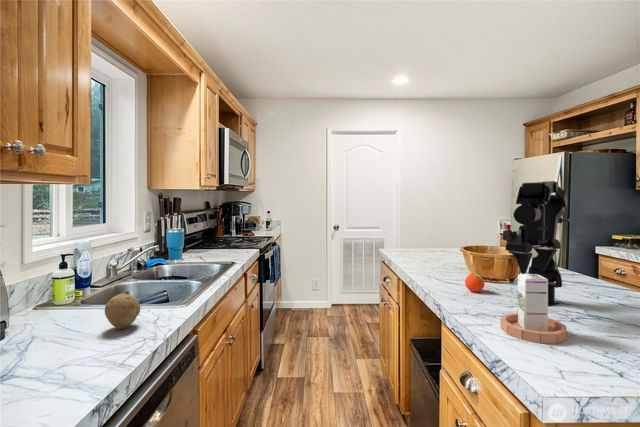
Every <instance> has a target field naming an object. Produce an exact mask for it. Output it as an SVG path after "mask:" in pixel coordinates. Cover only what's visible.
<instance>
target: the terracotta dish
mask: <svg viewBox="0 0 640 427" xmlns="http://www.w3.org/2000/svg"><path fill="white" fill-rule="evenodd" d="M500 329H501V331H503V332H504V333H505V334H506V335H509V336H511V337H513V338H517V339H519V340H522V341H526V342H532V343H537V344H551V345H552V344H561V343H564V342H566V341H567V334H568V331H567V330H568V329H567V325H565V324H564V323H562V322H561V321H558V320H556V319H553V318H550V317H548V332H538V331H533V330H527V329H523V328H522V327H521V326H520V325H519V324H518V312H511V313H507V314H503V315H501V318H500ZM563 341H564V342H563ZM560 342H561V343H560Z"/></svg>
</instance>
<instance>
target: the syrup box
mask: <svg viewBox="0 0 640 427" xmlns="http://www.w3.org/2000/svg"><path fill="white" fill-rule="evenodd" d="M517 313H518V324H519V325H520V326H521V327H522V328H523V329H527V330H533V331H538V332H548V318H549V306H548V279H546V278H544V277H542V276H540V275H537V274H528V273H526V274H521V273H520V274H519V273H518V274H517Z"/></svg>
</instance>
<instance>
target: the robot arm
mask: <svg viewBox="0 0 640 427" xmlns="http://www.w3.org/2000/svg"><path fill="white" fill-rule="evenodd" d="M515 204H516V205H519V206H517V207H516V208H515V210H514V211H513V218H514V221H516V222H517V223H518V224H520V225H519V227H518V230H516V231H512V230H511V229H505V230H503V232H502V240H503V241H506V243H505V251H507V252H508V253H509V254H511V255H513V257H514V258H515V259H516V262H517V264H518V268H519V270H520V274H537V275H540V276H542V277H544V278H546V279H548V307H549V306H553V305H557V304H560V301H558V300H556V299H555V298H556V288H557V289H558V288H562V287H563V280H562V274H561V273H560V269H559V266H558V265H557V263H556V261H555V259H554V257H555V255H556V253H557V252H558V249H561V242H560V240H558V239H557V230H558V223H559V219H560V218H561V217H562V216H563V215H564V214H565V212H566V211H565V210H566V208H568V204H569V203H568V195H567V191H566V190H564V189H563V188H561V187H560V186H559V183H558V181H554V180H550V181H548V180H547V181H541V182H540V181H538V182H537V181H536V182H523V183H522V184H521V186H519V188H518V192H517V197H516V200H515ZM532 250H534V251H535V252H536V253H537V255H536V256H533V252H532ZM530 263H531V265H530ZM529 265H530V266H529ZM527 272H528V273H527Z"/></svg>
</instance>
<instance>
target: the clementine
mask: <svg viewBox="0 0 640 427" xmlns="http://www.w3.org/2000/svg"><path fill="white" fill-rule="evenodd" d="M464 285H465V287H466V288H467V290H469V291H470V292H473V293H479V292H481V291H483V289H484V287H485V280H484V278H483V277H482V276H481V275H479V274H478V273H471V274H468V275H467V276H466V278H465V280H464Z"/></svg>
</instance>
